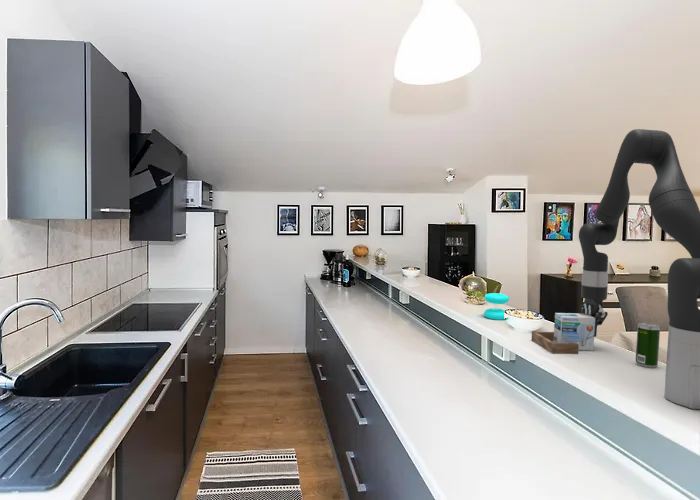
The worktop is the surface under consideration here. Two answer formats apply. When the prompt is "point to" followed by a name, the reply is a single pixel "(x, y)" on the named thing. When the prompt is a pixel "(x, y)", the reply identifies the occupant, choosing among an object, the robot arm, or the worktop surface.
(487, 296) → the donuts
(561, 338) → the light bulb box
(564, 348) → the wooden u-shaped bracket
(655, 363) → the green metal cylinder
